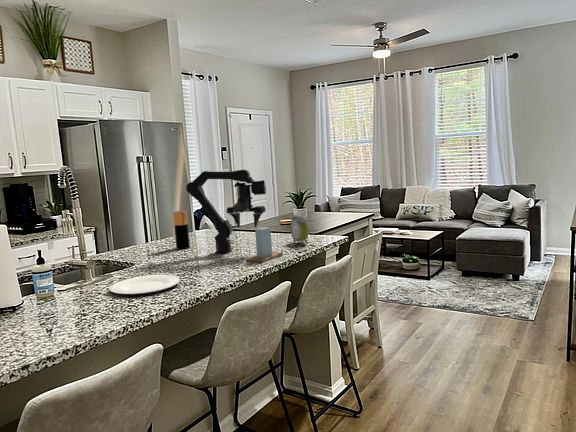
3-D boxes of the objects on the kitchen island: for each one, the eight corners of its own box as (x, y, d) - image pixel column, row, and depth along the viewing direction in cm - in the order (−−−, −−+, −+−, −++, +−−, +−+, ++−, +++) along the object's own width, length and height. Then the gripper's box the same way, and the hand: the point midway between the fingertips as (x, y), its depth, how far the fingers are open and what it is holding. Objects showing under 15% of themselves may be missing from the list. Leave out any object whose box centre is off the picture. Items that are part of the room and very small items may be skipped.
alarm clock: (290, 242, 241) (289, 214, 240) (302, 240, 244) (300, 213, 242) (300, 245, 231) (299, 216, 229) (312, 244, 234) (311, 215, 232)
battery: (192, 248, 242) (188, 210, 239) (179, 250, 238) (175, 212, 235) (186, 246, 248) (183, 209, 245) (174, 248, 244) (171, 211, 241)
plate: (125, 280, 181) (124, 276, 181) (187, 277, 180) (187, 273, 180) (97, 300, 156) (96, 294, 156) (169, 296, 155) (168, 291, 155)
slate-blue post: (257, 255, 207) (255, 228, 205) (266, 254, 210) (264, 227, 208) (262, 257, 203) (261, 229, 201) (272, 255, 206) (270, 228, 204)
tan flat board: (262, 262, 197) (262, 260, 197) (246, 261, 202) (245, 258, 202) (282, 255, 210) (282, 252, 210) (266, 253, 215) (266, 251, 215)
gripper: (219, 197, 217) (222, 229, 219) (254, 196, 210) (256, 230, 211) (231, 195, 227) (233, 226, 229) (264, 194, 220) (267, 226, 222)
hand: (247, 227), depth 222 cm, fingers open, 9 cm apart
